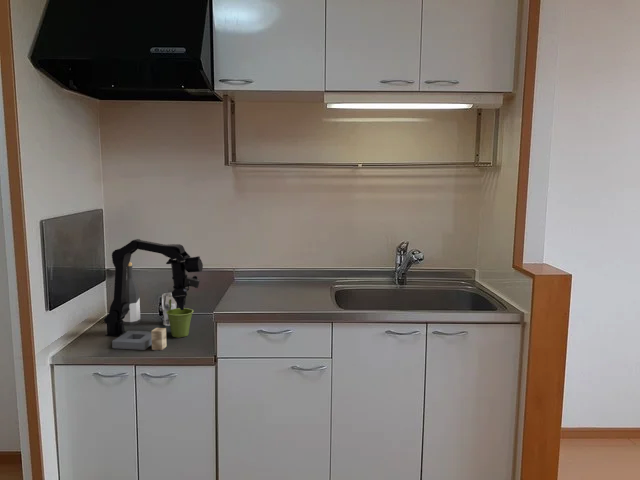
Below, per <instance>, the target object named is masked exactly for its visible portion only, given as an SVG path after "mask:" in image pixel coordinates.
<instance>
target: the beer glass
mask: <svg viewBox="0 0 640 480" xmlns="http://www.w3.org/2000/svg"><path fill="white" fill-rule="evenodd" d="M177 306H178V304H177V303H176V301H175V300H174V298H173V297H172V291H171V292H164V293H162V294H161V309H162V313H163V322H162V325H163V326H166V327H167V326H168V327H169V326H170V322H169V318H168V314H167V313H166V312H167V311H168V310H171V309H177Z"/></svg>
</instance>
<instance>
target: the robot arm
mask: <svg viewBox="0 0 640 480" xmlns="http://www.w3.org/2000/svg"><path fill="white" fill-rule="evenodd" d="M138 250H139V251H146V252H152V253H157V254H161V255H163V256H164V257H166V258H169V259H168V261H167V262H165V265H170V266H171V274H172V276H171V278H172V279H171V280H172V283H173V287H172V288H173V289H172V291H171V292H172V297H173V298H174V300H175V301H176V303H177V306H178V308H180V309H181V310H184V308H185V305H186V300H187V299H186V298H187V297H188V291H189V290H190V287H192V288H196V289H199V285H200V283H201V282H200V281H201V279H200V278H198V275H193V276H192V277H191V276H190V277H189V276H188V274H187V273H201V272H203V268H204V264H203V261H202V259H201V256H200V255H197V256H190V254H189V253H188V252H187V250H186V249H185V247H184V246H183V245H182V244H179V243H177V244H175V243H168V244H163V243H157V242H155V241H154V242H152V241H149V240H148V241H147V240H142V239H140V238H136V239H132V240H131V241H130V242H128V243H127V244H125V245H124V246H122V247H120V248H117V249H115V250H113V251H112V253H111V258H112V259H111V261H112V265H113V267H114V287H113V300H112V302H111V303H110V305H109V312H108V314H107V315H106V316H105V317H104V318H103V320H104V323H105V324H106V333H105V336H107V337H120V336H121V335H123V334H124V333H126V330H125V325H124V323H123V319H124V318H125V315H126V314H127V313H128V311H129V310H130V309H129V305H130V302H127V301H126V299H125V291H126V280H127V266H128V264H129V262H131V259H132V258H131V257H132V254H134V253H135V252H136V251H138Z"/></svg>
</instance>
